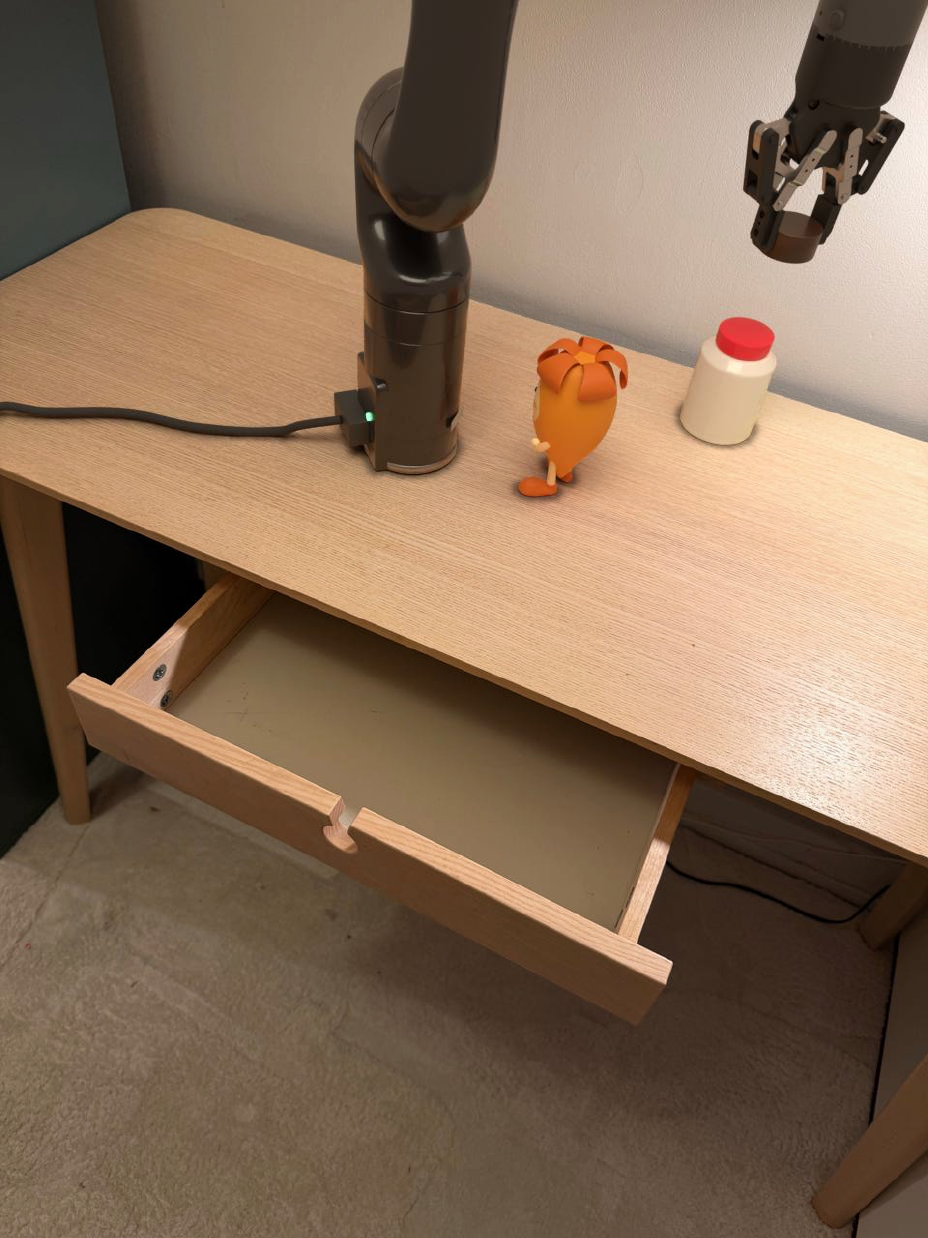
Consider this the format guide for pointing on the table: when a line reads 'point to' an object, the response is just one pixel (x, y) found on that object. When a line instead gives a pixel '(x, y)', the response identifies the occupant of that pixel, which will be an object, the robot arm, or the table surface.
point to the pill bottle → (730, 382)
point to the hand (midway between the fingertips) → (787, 243)
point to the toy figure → (572, 406)
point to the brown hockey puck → (796, 239)
